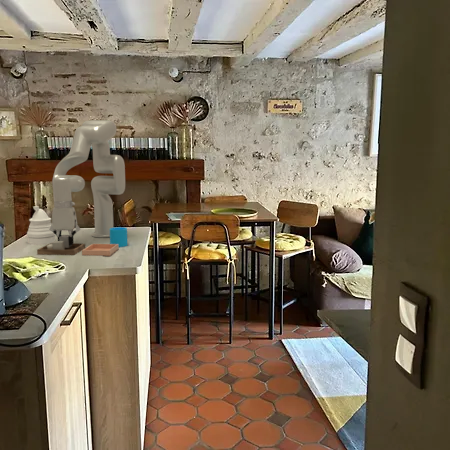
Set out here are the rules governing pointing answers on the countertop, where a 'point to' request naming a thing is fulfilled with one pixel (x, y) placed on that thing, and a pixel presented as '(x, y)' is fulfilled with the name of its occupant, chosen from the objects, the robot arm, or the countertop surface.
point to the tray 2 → (100, 249)
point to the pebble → (50, 247)
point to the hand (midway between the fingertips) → (65, 244)
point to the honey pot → (40, 228)
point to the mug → (118, 236)
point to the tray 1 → (68, 251)
